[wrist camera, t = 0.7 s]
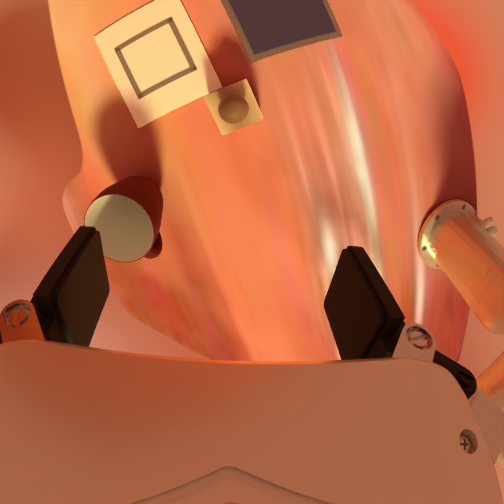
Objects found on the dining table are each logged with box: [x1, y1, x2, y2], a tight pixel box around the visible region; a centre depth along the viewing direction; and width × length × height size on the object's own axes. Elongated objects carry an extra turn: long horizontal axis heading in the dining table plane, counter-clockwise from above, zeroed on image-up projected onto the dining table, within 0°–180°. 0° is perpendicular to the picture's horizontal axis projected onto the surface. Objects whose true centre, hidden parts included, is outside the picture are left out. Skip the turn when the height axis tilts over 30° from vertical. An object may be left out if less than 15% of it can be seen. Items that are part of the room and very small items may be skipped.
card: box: [94, 0, 223, 129], centre depth 27 cm, size 11×14×1 cm
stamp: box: [204, 79, 264, 136], centre depth 28 cm, size 4×4×9 cm
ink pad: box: [221, 0, 342, 63], centre depth 25 cm, size 11×9×2 cm
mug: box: [84, 176, 163, 262], centre depth 33 cm, size 10×8×10 cm
